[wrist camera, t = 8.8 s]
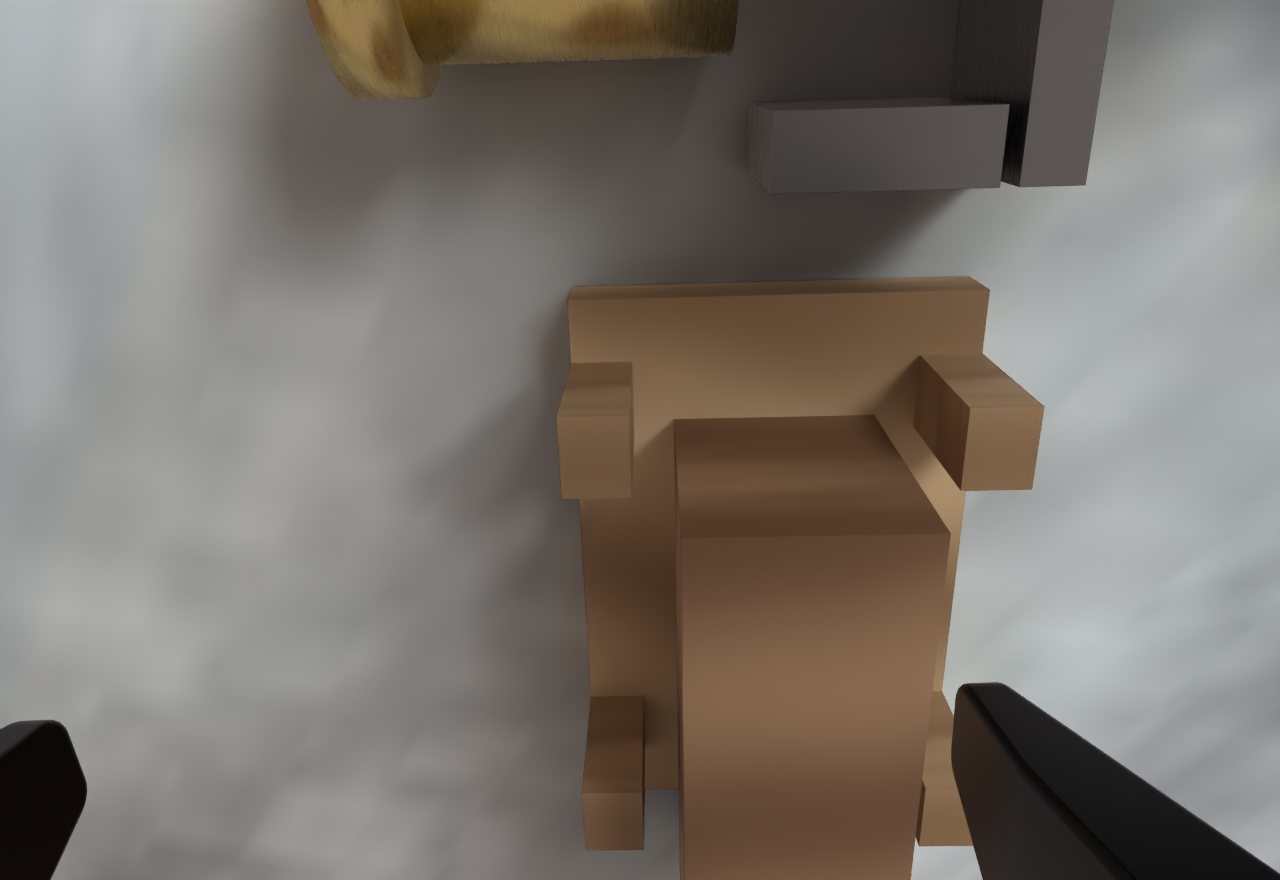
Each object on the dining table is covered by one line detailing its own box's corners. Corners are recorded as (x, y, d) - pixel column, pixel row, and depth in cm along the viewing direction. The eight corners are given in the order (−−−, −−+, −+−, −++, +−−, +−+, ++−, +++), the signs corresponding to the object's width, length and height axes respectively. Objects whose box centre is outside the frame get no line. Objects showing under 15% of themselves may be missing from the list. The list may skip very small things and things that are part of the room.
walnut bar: (839, 863, 23) (887, 1068, 18) (679, 865, 23) (687, 1069, 18) (874, 414, 18) (950, 533, 13) (673, 419, 18) (682, 538, 13)
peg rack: (572, 286, 18) (551, 344, 14) (969, 276, 18) (1055, 331, 14) (599, 754, 23) (588, 895, 19) (916, 750, 23) (971, 890, 19)
